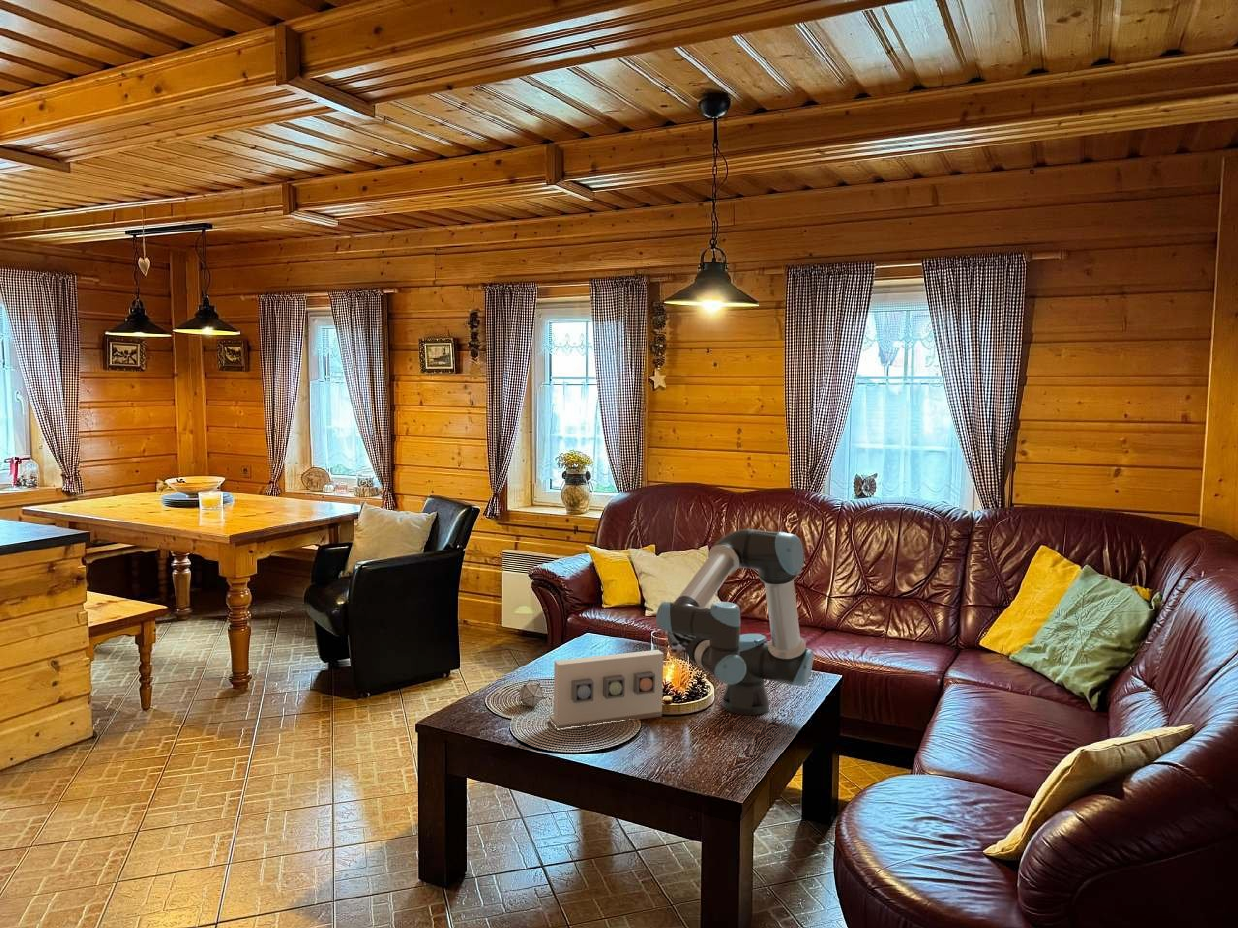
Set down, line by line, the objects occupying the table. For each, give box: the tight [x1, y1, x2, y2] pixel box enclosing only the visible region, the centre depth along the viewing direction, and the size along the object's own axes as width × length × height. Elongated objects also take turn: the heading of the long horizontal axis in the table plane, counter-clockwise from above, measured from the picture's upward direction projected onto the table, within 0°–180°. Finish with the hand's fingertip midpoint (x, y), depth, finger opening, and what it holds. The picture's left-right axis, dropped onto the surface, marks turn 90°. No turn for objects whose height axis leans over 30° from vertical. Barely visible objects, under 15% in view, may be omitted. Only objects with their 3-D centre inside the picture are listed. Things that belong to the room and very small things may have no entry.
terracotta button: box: [639, 677, 652, 691], centre depth 254 cm, size 2×4×4 cm, turn 112°
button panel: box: [549, 649, 665, 728], centre depth 255 cm, size 11×34×20 cm, turn 112°
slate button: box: [577, 685, 591, 699], centre depth 247 cm, size 2×4×4 cm, turn 112°
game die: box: [516, 678, 546, 709], centre depth 265 cm, size 9×8×10 cm
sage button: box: [608, 681, 622, 695], centre depth 250 cm, size 2×4×4 cm, turn 112°
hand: (667, 628), depth 243 cm, fingers closed
